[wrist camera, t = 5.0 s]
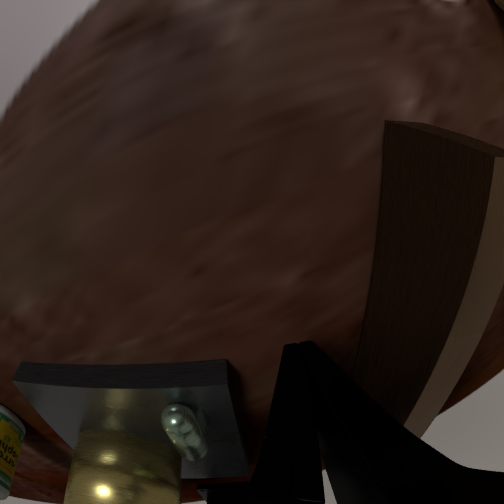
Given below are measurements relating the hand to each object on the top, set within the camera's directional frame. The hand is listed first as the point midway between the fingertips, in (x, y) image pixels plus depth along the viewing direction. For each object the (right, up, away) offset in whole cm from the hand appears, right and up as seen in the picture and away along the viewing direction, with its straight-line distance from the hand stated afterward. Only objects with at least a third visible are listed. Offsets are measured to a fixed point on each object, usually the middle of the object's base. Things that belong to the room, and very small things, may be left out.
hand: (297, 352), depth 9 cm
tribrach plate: (-8, -8, +8) cm, 14 cm away
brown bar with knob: (+4, -1, +5) cm, 7 cm away
